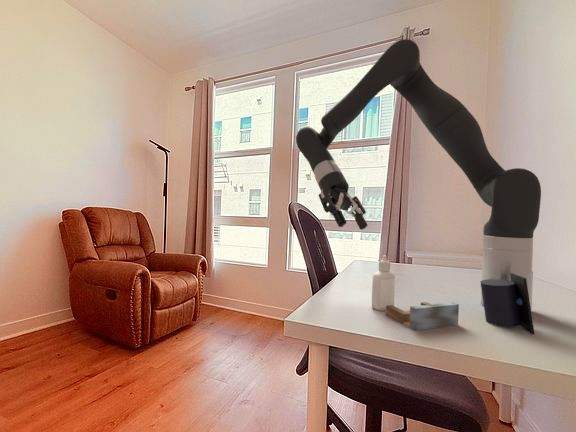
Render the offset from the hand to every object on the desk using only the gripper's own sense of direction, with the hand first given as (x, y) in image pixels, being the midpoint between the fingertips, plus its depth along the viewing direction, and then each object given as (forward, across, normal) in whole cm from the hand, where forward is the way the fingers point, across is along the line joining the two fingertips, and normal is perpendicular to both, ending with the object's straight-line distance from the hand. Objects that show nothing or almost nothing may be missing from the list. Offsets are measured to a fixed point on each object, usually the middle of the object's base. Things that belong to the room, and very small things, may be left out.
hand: (354, 226), depth 66 cm
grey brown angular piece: (+25, +2, -3) cm, 25 cm away
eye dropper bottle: (+20, +2, +4) cm, 20 cm away
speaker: (+30, +14, -12) cm, 36 cm away
